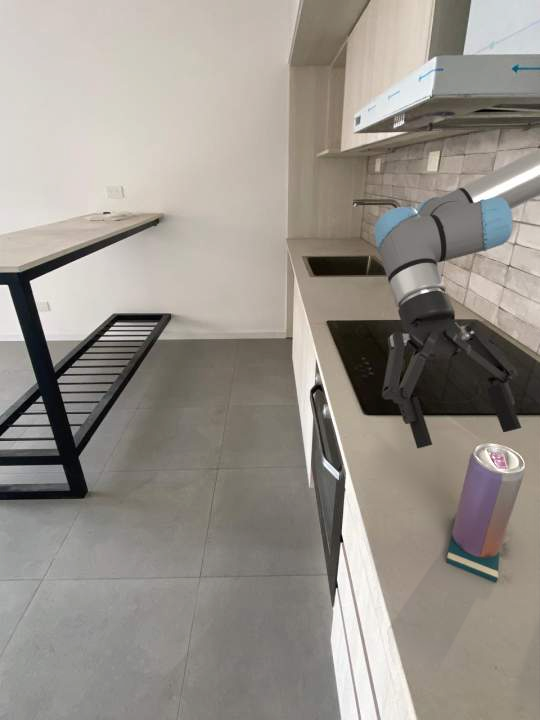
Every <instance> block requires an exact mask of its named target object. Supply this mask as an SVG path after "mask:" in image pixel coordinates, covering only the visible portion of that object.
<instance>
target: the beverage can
mask: <svg viewBox="0 0 540 720" xmlns="http://www.w3.org/2000/svg"><path fill="white" fill-rule="evenodd" d="M525 465H526V464H525V461H524V459H523V456H521V455H520V454H519V453H518V452H516V451H515V450H514V449H512V448H509V447H507V446H505V445H503V444H502V445H501V444H498V443H492V442H485V443H479V444H477V445H476V446H475V447H474V448H473V451H472V452H471V454H470V456H469V460H468V464H467V469H466V471H465V477H464V480H463V485H462V489H461V494H460V497H459V502H458V506H457V509H456V513H457V514H456V513H455V516H456V518H455V517H454V521H455V522H454V521H453V525H452V531H451V535H452V534H453V538H454V540H455V542H456V544H457V545H458V546H459V548H460V549H461V550H463V551H464V552H465V553H467V554H468V555H470V556H473V557H476V558H480V559H487V558H491V557H493V556H495V555H497V554H498V552H499V553H500V551H499V550H501V548H502V544H503V541H504V539H505V535H506V533H507V532H506V531H507V529H508V525H509V522H510V519H511V517H512V514H513V513H512V512H513V510H514V507H515V504H516V501H517V497H518V494H519V491H520V489H521V488H520V487H521V485H522V483H523V480H524V476H525Z"/></svg>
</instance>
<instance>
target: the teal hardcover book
mask: <svg viewBox="0 0 540 720" xmlns="http://www.w3.org/2000/svg"><path fill="white" fill-rule="evenodd" d="M456 514H457V512H455V517H454V519H455V518H456ZM454 522H455V520H454V521H453V523H454ZM500 550H501V549H500ZM500 550H499V552H498V554H497V555H495V556H493V557H491V558H487V559H480V558H476V557H473V556H470V555H468V554H467V553H465V552H464V551H463V550H461V549H460V548H459V546H458V545H457V544H456V542H455V540H454V538H453V534H452V533H451V537H450V542H449V546H448V551H447V556H446V561H445V562H446V564H448V565H451V566H453V567H456V568H459V569H460V570H463V571H465V572H466V571H467V572H469V573H471V574H473V575H476V576H478V577H481V578H483V579H485V580H488V581H489V582H492V583H496V584H497V582H498V579H499V565H500V564H499V563H500Z"/></svg>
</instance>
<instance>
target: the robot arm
mask: <svg viewBox="0 0 540 720" xmlns="http://www.w3.org/2000/svg"><path fill="white" fill-rule="evenodd" d="M539 197H540V147H539V148H538V149H534V150H533V151H531V152H529V153H527V154H525V155H523V156H521V157H519V158H518V159H515V160H512V161H511V162H509V163H507V164H505V165H503V166H501V167H499V168H497V169H495V170H493V171H491V172H489V173H487V174H485V175H483V176H481V177H479V178H476V179H475V180H473V181H471V182H469V183H467V184H465V185H463V186H461V187H460V188H457V189H455V190H453V191H451V192H448V193H447V194H445V195H442V196H440V197H439V196H437V197H432V198H427V199H425V200H423V201H422V202H420V203H419V204H418V206H417V207H416V208H414V207H412V206H407V207H406V206H398V207H394V208H392V209H389V210H388V211H386V212H385V213H384V214H382V215H381V216H380V217H379V218H378V219H377V220H376V222H375V224H374V227H373V235H374V240H375V243H376V247H377V254H378V255H379V257H380V260H381V263H382V266H383V269H384V272H385V275H386V277H387V281H388V284H389V288H390V291H391V293H392V296H393V300H394V302H395V306H396V307H397V308H398V311H397V313H398V316H399V319H400V322H401V326H402V328H403V330H404V331H405V333H403V332H402V331H401V330H395V331H394V332H393V333H392V334H391V335H390V336H389V337H388V338H387V344H388V345H387V346H388V350H389V352H388V359H387V364H386V370H385V374H384V380H383V386H382V390H381V391H382V392H381V397H382V398H383V399H384V400H392V402H393V403H394V404H397V405H398V408H399V411H400V414H401V417H402V420H403V422H404V424H405V425H409V426H410V429H411V433H412V436H413V440H414V443H415V446H416V449H421V448H426V447H429V446H432V445H433V442H432V438H431V435H430V432H429V428H428V426H427V423H426V419H425V416H424V413H423V410H422V406H421V404H420V400H419V397H418V396H413V397H411V395H412V393H413V391H414V389H415V387H416V384H417V382H418V380H419V378H420V375H421V373H422V370H423V368H424V366H425V364H426V361H434V360H436V359H443V360H444V359H448V358H451V359H452V360H455V361H458V362H459V363H460V364H462V365H463V366H465V367H466V368H467V369H469V370H470V371H471V372H472V373H474V374H475V375H477V376H478V377H479V378H480V379H482V380H483V381H484V382H486V383H487V384H488V385H490V387H487V388H486V391H487V393H488V396H489V398H490V401H491V404H492V406H493V409H494V412H495V414H496V417H497V420H498V422H499V425H500V428H501V430H502V433H507V432H513V431H515V430H519V429H522V426H521V423H520V420H519V418H518V415H517V413H516V410H515V407H514V405H515V404H516V403H515V398H514V396H513V393H512V391H511V388H510V385H509V382H510V381H512V380H513V378H515V377H517V375H518V371H517V369H516V368H515V367H514V366H513V365H512V364H511V363H510V362H509V361H508V359H506V358H505V356H504V355H502V353H501V352H500V351H499V350H498V348H496V347H495V345H494V344H493V343H492V342H490V340H489V339H488V338H487V337H486V336H485V335H484V333H483V332H482V330H481V328H480V326H479V324H478V322H476V321H474V320H473V321H470V322H469V323H467V324H466V325H463V326H460V325H459V324H458V323H457V322H456V317H455V315H456V311H455V308H454V305H453V303H452V301H451V298H450V296H449V293H447V292H446V291H447V287H446V284H445V281H444V278H443V275H442V274H441V271H440V268H439V265H438V263H442V262H446V261H450V260H453V259H458V258H461V257H465V256H468V255H473V254H477V253H480V252H486V251H488V250H492V249H493V248H497V247H499V246H503V245H504V244H506V243H507V242H508V241H509V240H510V238H511V236H512V233H513V229H514V217H513V213H512V212H513V211H512V209H514V208H517V207H519V206H521V205H523V204H526V203H527V202H529V201H532V200H534V199H536V198H539ZM407 345H408V346H410V348H412V349H413V350H414V351H413V352H412V355H411V358H410V359H409V364H408V366H407V369H406V370H405V373H404V375H403V378H402V380H401V379H400V378H401V373H402V367H403V361H404V355H405V347H406V346H407ZM400 380H401V382H400Z"/></svg>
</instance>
